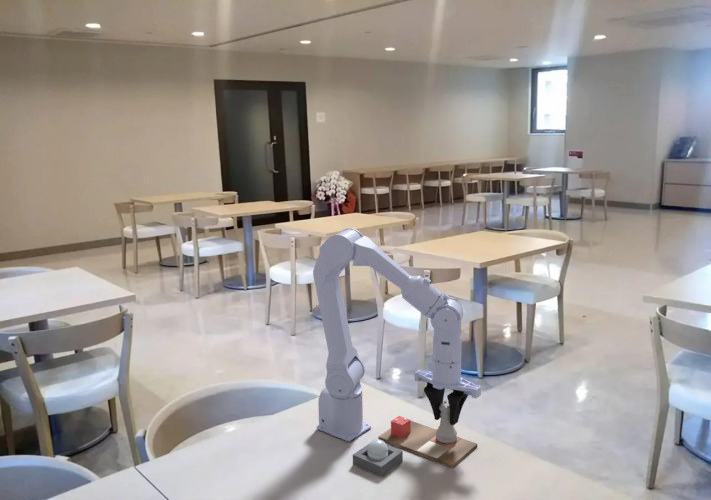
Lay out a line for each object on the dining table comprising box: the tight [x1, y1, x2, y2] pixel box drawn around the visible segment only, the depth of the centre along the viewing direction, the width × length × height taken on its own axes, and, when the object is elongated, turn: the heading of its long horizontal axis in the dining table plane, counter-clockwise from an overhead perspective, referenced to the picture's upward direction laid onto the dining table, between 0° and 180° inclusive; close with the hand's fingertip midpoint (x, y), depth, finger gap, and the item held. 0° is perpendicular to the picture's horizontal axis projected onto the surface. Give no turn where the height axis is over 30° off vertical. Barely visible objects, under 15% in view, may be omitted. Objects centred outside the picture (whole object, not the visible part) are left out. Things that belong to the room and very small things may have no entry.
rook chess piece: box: [436, 400, 458, 444], centre depth 122 cm, size 4×4×8 cm
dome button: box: [368, 438, 388, 462], centre depth 115 cm, size 4×4×4 cm
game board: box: [377, 420, 478, 469], centre depth 123 cm, size 18×10×1 cm, turn 51°
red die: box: [390, 415, 412, 438], centre depth 126 cm, size 3×3×3 cm
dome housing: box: [352, 442, 404, 478], centre depth 116 cm, size 7×7×2 cm
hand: (446, 420), depth 122 cm, fingers closed on rook chess piece, 3 cm apart
